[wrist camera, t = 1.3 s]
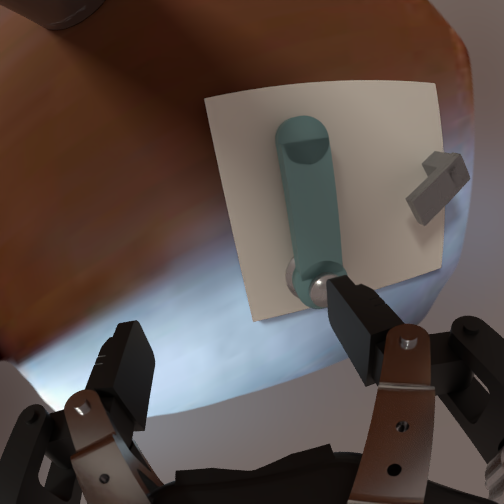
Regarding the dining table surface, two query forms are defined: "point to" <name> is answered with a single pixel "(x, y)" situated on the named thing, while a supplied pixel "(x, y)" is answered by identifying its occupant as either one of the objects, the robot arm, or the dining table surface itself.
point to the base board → (346, 180)
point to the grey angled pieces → (420, 202)
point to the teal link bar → (309, 201)
